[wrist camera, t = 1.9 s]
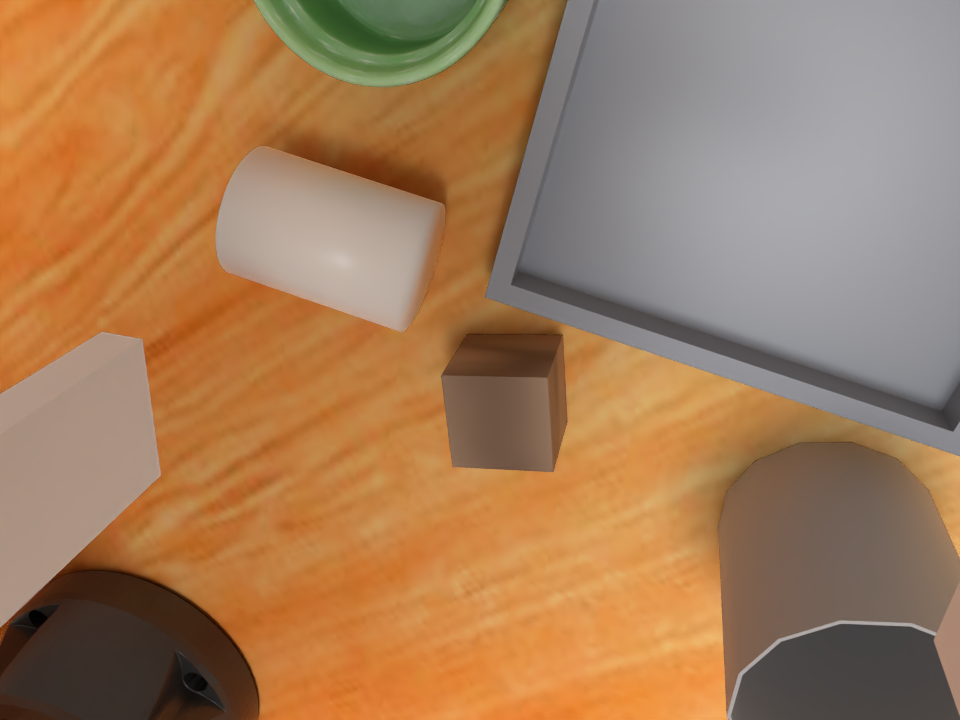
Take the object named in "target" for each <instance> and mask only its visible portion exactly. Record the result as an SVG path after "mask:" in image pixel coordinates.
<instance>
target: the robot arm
mask: <svg viewBox="0 0 960 720" xmlns="http://www.w3.org/2000/svg"><path fill="white" fill-rule="evenodd" d="M160 476H161V471H160V463H159V456H158V449H157V441H156V434H155V427H154V420H153V412H152V405H151V398H150V390H149V383H148V376H147V369H146V361H145V354H144V347H143V339H140V338H134V337H129V336H123V335H118V334H112V333H107V332H100V333H99V334H97V335H96V336H94V337H92V338H91V339H89V340H87V341H86V342H84V343H82V344H81V345H79V346H78V347H76V348H74V349H73V350H71V351H69V352H68V353H66V354H65V355H63V356H61V357H60V358H58V359H56V360H55V361H53V362H52V363H50V364H48V365H47V366H45V367H43V368H42V369H40V370H38V371H37V372H35V373H34V374H32V375H30V376H29V377H27V378H25V379H24V380H22V381H21V382H19V383H17V384H16V385H14V386H12V387H11V388H9V389H7V390H6V391H4V392H3V393H1V394H0V627H1V626H3V625H4V624H5V623H6V622H7V621H8V620H9V619H10V618H11V617H12V616H13V615H14V614H15V613H16V612H17V611H18V610H19V609H20V608H21V609H20V610H19V611H18V613H17V614H16V615H15V616H14V617H13V619H12V620H11V622H10V623H9V625H8V626H7V628H6V630H5V632H4V634H3V635H2V637H1V639H0V720H257V719H258V697H257V691H256V688H255V684H254V681H253V679H252V676H251V674H250V671H249V669H248V667H247V666H246V664H245V662H244V660H243V659H242V657H241V655H240V654H239V652H238V651H237V649H236V648H235V647H234V645H233V644H232V643H231V642H230V640H229V639H228V638H227V637H226V636H225V635H224V633H223V632H222V631H221V630H220V629H219V628H218V627H217V626H216V625H215V624H214V623H213V622H211V621H210V620H209V619H208V618H207V617H206V616H205V615H203V614H202V613H201V612H200V611H198V610H197V609H196V608H194V607H193V606H192V605H190V604H189V603H187V602H186V601H184V600H183V599H181V598H179V597H178V596H176V595H174V594H173V593H171V592H169V591H167V590H165V589H163V588H161V587H159V586H157V585H154V584H152V583H150V582H147V581H144V580H142V579H139V578H136V577H132V576H129V575H124V574H120V573H114V572H107V571H80V572H74V573H70V574H66V575H63V576H61V577H58V578H56V579H55V580H53V581H51V582H50V583H48V582H49V581H50V580H51V579H52V578H53V577H54V576H55V575H56V574H57V573H58V572H60V571H61V570H62V569H63V568H64V567H65V566H66V565H67V564H68V563H69V562H70V561H71V560H72V559H73V558H74V557H75V556H76V555H77V554H79V553H80V552H81V551H82V550H83V549H84V548H85V547H86V546H87V545H88V544H89V543H90V542H91V541H92V540H93V539H94V538H95V537H96V536H98V535H99V534H100V533H101V532H102V531H103V530H104V529H105V528H106V527H107V526H108V525H109V524H110V523H111V522H112V521H113V520H114V519H115V518H117V517H118V516H119V515H120V514H121V513H122V512H123V511H124V510H125V509H126V508H127V507H128V506H129V505H130V504H131V503H132V502H133V501H134V500H136V499H137V498H138V497H139V496H140V495H141V494H142V493H143V492H144V491H145V490H146V489H147V488H148V487H149V486H150V485H151V484H152V483H153V482H155V481H156V480H157V479H158V478H159V477H160ZM47 583H48V584H47ZM46 584H47V585H46ZM45 585H46V586H45ZM39 590H40V591H39ZM38 591H39V592H38ZM37 592H38V593H37ZM36 593H37V594H36ZM35 594H36V595H35ZM34 595H35V596H34ZM33 596H34V597H33ZM32 597H33V598H32ZM31 598H32V599H31ZM30 599H31V600H30ZM29 600H30V601H29ZM28 601H29V602H28ZM27 602H28V603H27ZM26 603H27V604H26ZM25 604H26V605H25ZM934 643H935V646H936V649H937V652H938V655H939V658H940V661H941V664H942V666H943V669H944V672H945V675H946V678H947V681H948V684H949V687H950V690H951V692H952V695H953V698H954V701H955V704H956V707H957V710H958V713H959V716H960V581H959V584H958V586H957V588H956V591H955V593H954V595H953V597H952V600H951V602H950V604H949V606H948V609H947V611H946V613H945V616H944V618H943V620H942V622H941V625H940V627H939V629H938V631H937V634H936V636H935V638H934Z"/></svg>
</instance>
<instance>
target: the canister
mask: <svg viewBox="0 0 960 720" xmlns="http://www.w3.org/2000/svg"><path fill="white" fill-rule="evenodd" d="M445 223H446V209H445V205H444V204H443V203H440V202H437V201H434V200H431V199H428V198H425V197H422V196H418V195H415V194H412V193H409V192H406V191H403V190H400V189H397V188H394V187H391V186H388V185H385V184H382V183H379V182H375V181H372V180H369V179H366V178H363V177H360V176H357V175H354V174H351V173H348V172H345V171H342V170H339V169H335V168H332V167H329V166H326V165H323V164H320V163H317V162H314V161H311V160H308V159H305V158H302V157H299V156H296V155H292V154H289V153H286V152H283V151H280V150H277V149H274V148H271V147H268V146H259V147H257V148H255V149H253V150H252V151H250V152H249V153H248V154H247V155H246V156H245V157H244V158H243V160H242V161H241V162H240V164H239V165H238V166H237V168H236V170H235V171H234V173H233V175H232V177H231V179H230V181H229V183H228V185H227V188H226V190H225V193H224V196H223V199H222V202H221V206H220V210H219V214H218V219H217V226H216V252H217V257H218V260H219V263H220V265H221V267H222V268H223V269H224V271H226V272H227V273H230V274H233V275H236V276H239V277H242V278H245V279H248V280H251V281H254V282H256V283H259V284H262V285H265V286H268V287H271V288H274V289H277V290H280V291H283V292H286V293H289V294H291V295H294V296H297V297H300V298H303V299H306V300H309V301H312V302H315V303H318V304H321V305H324V306H326V307H329V308H332V309H335V310H338V311H341V312H344V313H347V314H350V315H353V316H356V317H359V318H361V319H364V320H367V321H370V322H373V323H376V324H379V325H382V326H385V327H388V328H391V329H394V330H396V331H399V332H404V331H405V330H406V329H407V328H408V327H409V326H410V325H411V323H412V322H413V320H414V318H415V316H416V315H417V313H418V311H419V309H420V307H421V305H422V302H423V300H424V298H425V295H426V293H427V290H428V288H429V285H430V282H431V280H432V277H433V274H434V271H435V268H436V264H437V261H438V257H439V253H440V248H441V244H442V240H443V236H444V230H445Z"/></svg>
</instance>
